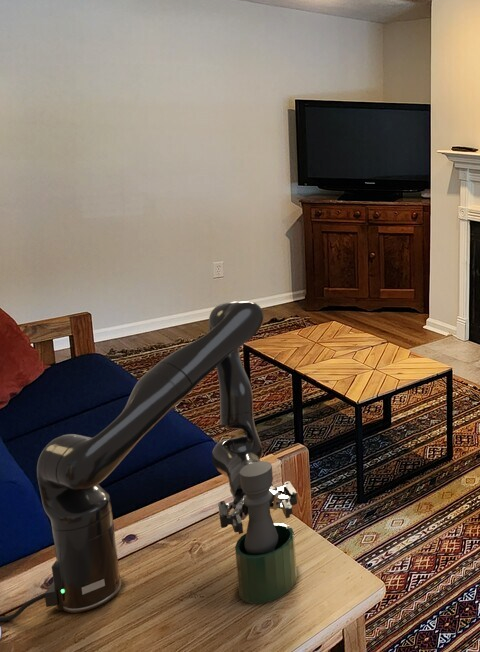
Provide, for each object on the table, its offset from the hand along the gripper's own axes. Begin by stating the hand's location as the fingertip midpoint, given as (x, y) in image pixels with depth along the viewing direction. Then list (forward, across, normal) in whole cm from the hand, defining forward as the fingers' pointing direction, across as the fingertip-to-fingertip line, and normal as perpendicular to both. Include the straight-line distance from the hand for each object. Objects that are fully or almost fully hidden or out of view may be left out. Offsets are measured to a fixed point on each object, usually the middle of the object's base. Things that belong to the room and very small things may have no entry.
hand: (264, 521), depth 121 cm
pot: (-2, 0, +15) cm, 15 cm away
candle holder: (-2, -1, +15) cm, 15 cm away
